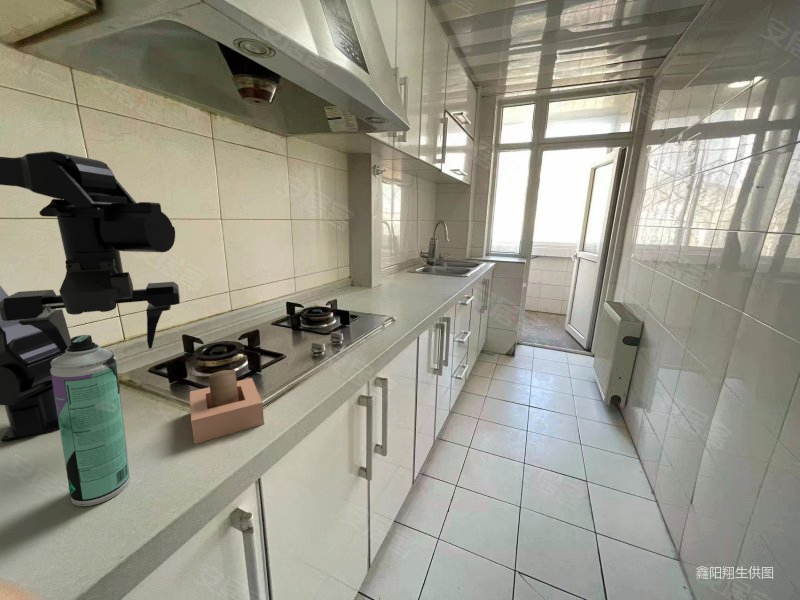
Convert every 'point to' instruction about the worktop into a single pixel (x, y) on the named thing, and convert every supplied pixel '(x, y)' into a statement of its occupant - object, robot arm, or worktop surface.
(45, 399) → the robot arm
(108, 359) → the spray can
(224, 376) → the peg
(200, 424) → the socket block
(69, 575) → the worktop surface
